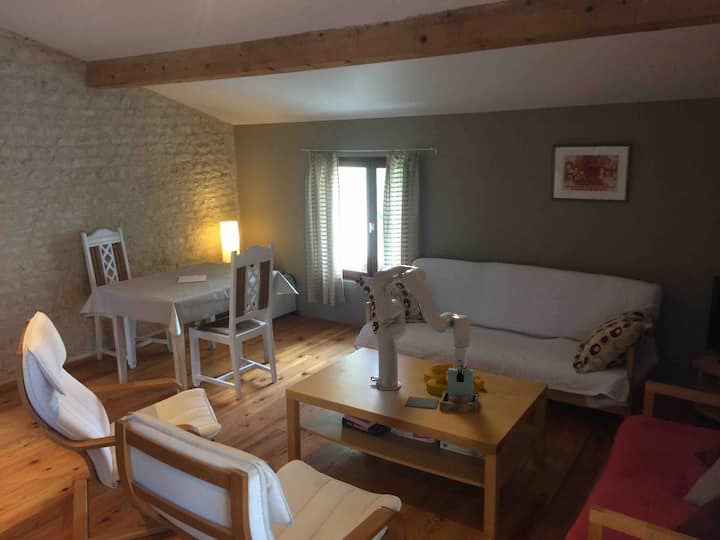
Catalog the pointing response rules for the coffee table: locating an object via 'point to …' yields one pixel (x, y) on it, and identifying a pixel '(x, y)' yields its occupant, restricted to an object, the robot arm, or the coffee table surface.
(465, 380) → the teal rectangular block
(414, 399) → the mat
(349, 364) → the coffee table surface
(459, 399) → the offcut stack
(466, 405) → the brown rectangular frame
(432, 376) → the decorative symbol
